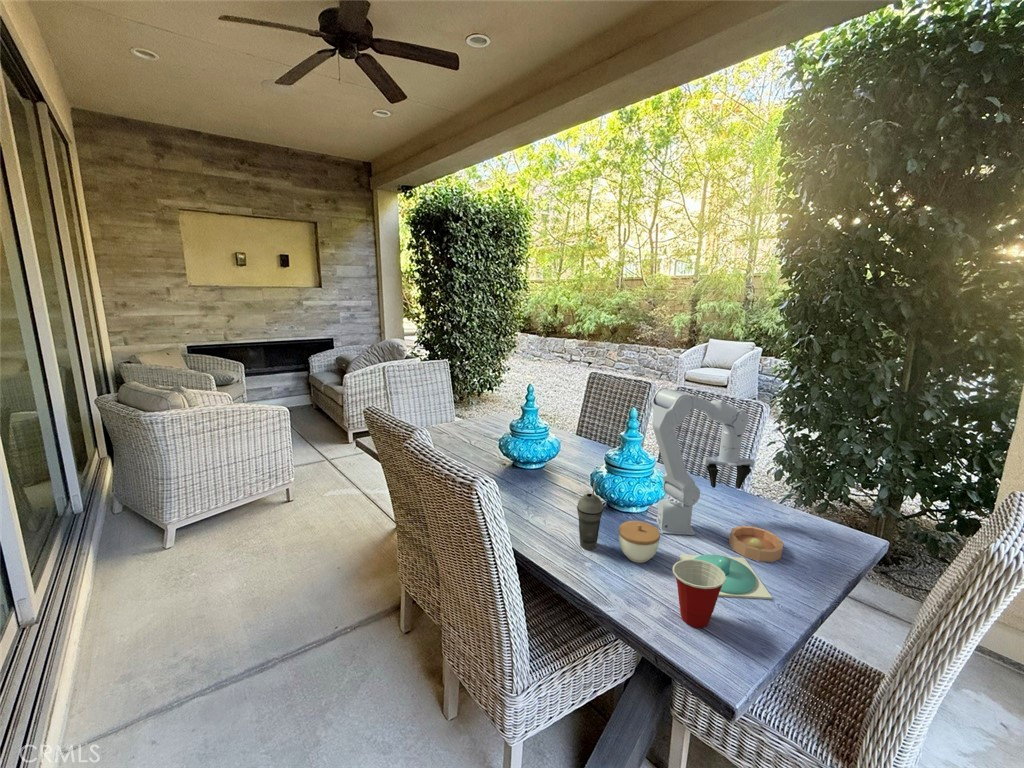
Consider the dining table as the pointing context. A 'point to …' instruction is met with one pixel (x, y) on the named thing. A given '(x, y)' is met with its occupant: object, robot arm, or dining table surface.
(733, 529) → the bowl
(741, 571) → the lid
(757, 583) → the mat
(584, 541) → the beverage cup
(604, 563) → the dining table surface
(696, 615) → the plastic cup
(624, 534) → the lidded jar
